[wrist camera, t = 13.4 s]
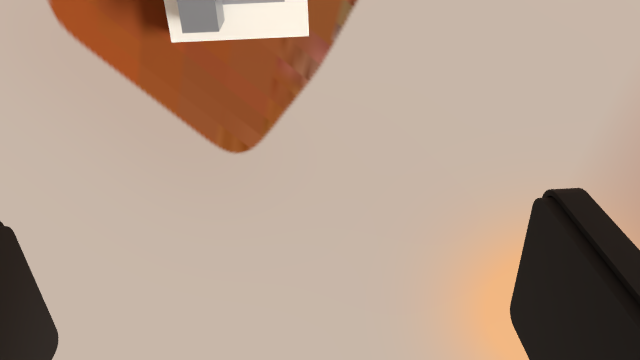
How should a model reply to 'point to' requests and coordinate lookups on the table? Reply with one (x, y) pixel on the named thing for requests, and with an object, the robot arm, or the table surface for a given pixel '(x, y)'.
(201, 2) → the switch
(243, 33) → the switch box
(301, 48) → the table surface
